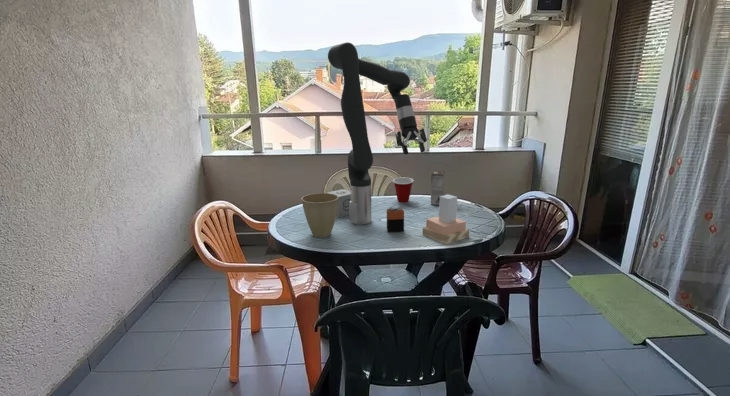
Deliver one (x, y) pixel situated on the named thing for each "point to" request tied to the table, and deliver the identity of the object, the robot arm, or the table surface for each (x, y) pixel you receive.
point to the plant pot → (320, 212)
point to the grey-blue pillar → (447, 208)
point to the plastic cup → (403, 188)
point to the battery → (395, 219)
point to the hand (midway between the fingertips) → (414, 153)
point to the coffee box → (437, 186)
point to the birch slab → (445, 238)
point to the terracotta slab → (445, 226)
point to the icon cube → (342, 201)
